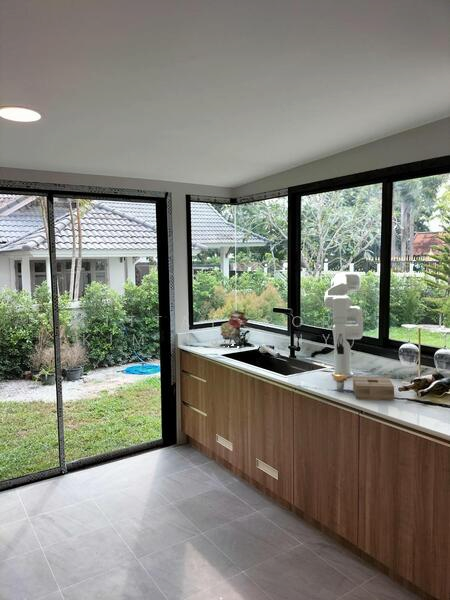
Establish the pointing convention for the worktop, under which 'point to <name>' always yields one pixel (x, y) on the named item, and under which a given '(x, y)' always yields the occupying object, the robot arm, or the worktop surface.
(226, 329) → the rose bouquet
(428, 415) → the worktop surface
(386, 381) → the hitch block
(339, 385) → the pin
